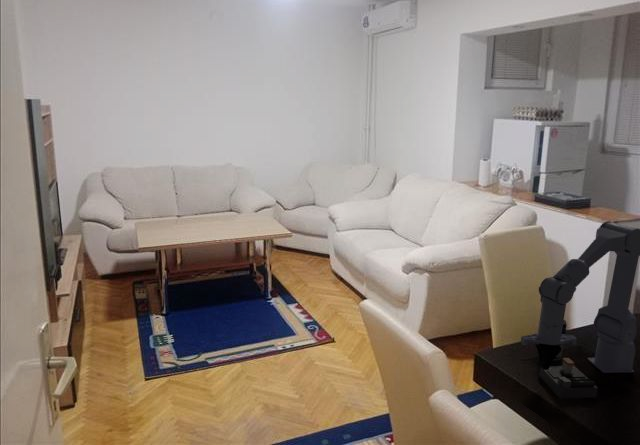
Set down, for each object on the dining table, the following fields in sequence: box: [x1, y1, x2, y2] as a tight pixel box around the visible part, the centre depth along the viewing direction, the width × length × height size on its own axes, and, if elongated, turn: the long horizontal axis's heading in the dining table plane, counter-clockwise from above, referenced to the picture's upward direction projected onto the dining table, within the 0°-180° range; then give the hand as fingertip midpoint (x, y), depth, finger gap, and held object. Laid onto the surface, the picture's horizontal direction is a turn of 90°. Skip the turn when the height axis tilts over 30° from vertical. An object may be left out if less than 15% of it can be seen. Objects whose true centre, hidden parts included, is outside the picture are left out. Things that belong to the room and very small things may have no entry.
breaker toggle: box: [560, 357, 575, 375], centre depth 138 cm, size 2×3×4 cm
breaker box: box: [538, 365, 599, 399], centre depth 137 cm, size 10×11×5 cm
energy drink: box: [553, 319, 568, 362], centre depth 152 cm, size 5×5×12 cm
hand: (544, 367), depth 137 cm, fingers closed
